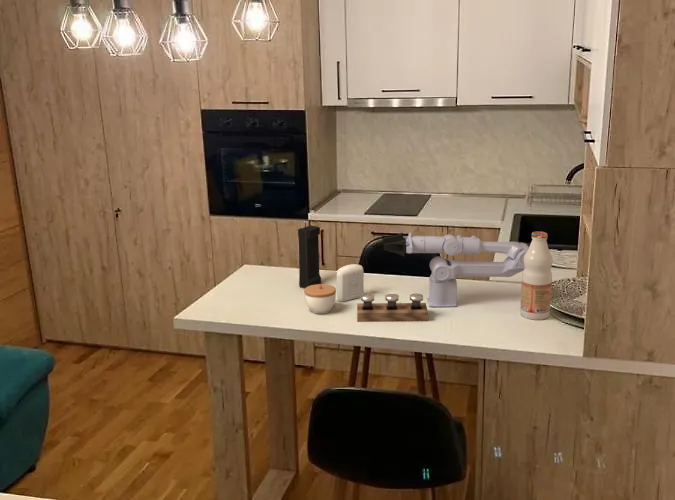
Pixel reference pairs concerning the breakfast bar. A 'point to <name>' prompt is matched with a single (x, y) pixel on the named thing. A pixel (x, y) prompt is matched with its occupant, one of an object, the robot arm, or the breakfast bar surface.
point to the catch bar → (391, 313)
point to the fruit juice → (536, 279)
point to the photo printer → (350, 282)
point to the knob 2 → (416, 301)
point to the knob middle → (391, 300)
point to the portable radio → (309, 256)
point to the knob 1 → (367, 301)
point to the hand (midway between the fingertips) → (383, 244)
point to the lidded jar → (320, 298)
